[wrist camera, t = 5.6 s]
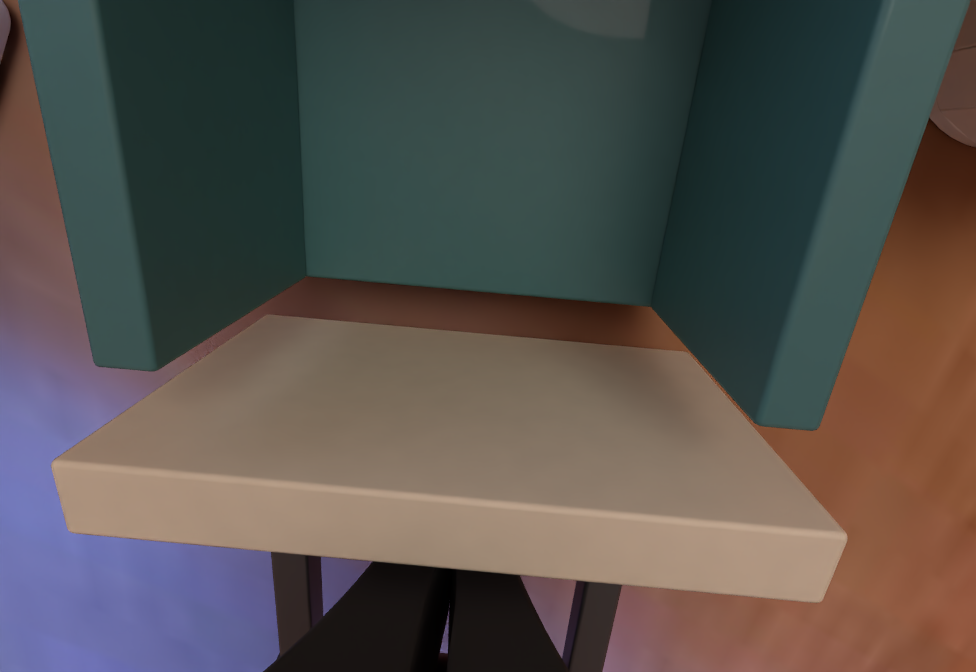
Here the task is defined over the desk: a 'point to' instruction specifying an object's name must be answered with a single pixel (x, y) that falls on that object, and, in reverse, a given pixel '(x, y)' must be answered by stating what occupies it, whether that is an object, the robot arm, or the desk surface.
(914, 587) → the desk surface
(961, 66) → the cup
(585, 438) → the drawer
